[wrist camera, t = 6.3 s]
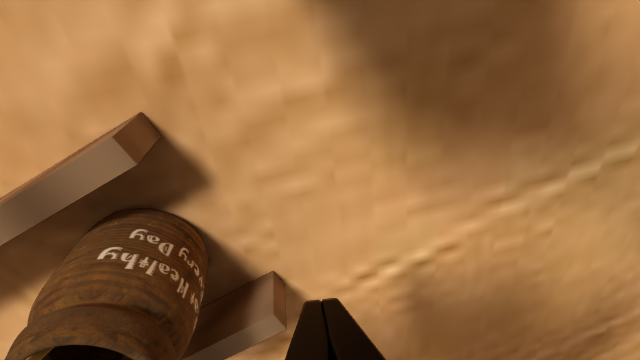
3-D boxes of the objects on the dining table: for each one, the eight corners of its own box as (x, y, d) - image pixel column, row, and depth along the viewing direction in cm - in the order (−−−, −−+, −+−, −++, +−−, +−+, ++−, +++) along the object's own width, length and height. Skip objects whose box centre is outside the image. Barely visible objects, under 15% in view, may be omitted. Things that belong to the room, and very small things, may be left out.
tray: (141, 112, 15) (112, 136, 12) (284, 284, 20) (286, 328, 17) (-227, 337, 17) (-317, 398, 15) (-17, 437, 22) (-55, 496, 20)
